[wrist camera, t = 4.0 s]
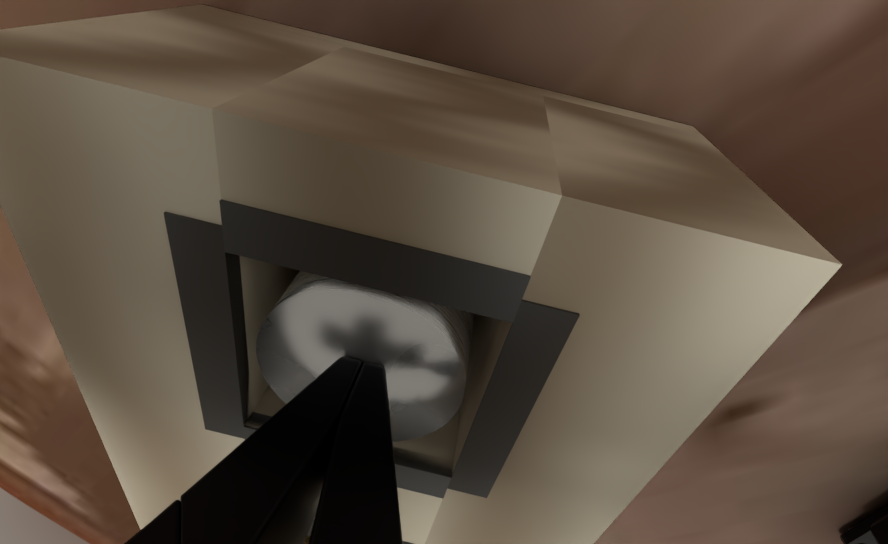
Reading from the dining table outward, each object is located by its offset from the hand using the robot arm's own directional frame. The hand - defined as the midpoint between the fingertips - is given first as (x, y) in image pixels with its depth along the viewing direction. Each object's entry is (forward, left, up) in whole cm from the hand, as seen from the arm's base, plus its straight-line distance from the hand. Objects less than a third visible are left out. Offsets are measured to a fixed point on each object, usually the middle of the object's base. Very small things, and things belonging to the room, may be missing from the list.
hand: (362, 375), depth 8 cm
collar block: (0, +5, -6) cm, 7 cm away
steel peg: (0, 0, -6) cm, 6 cm away
